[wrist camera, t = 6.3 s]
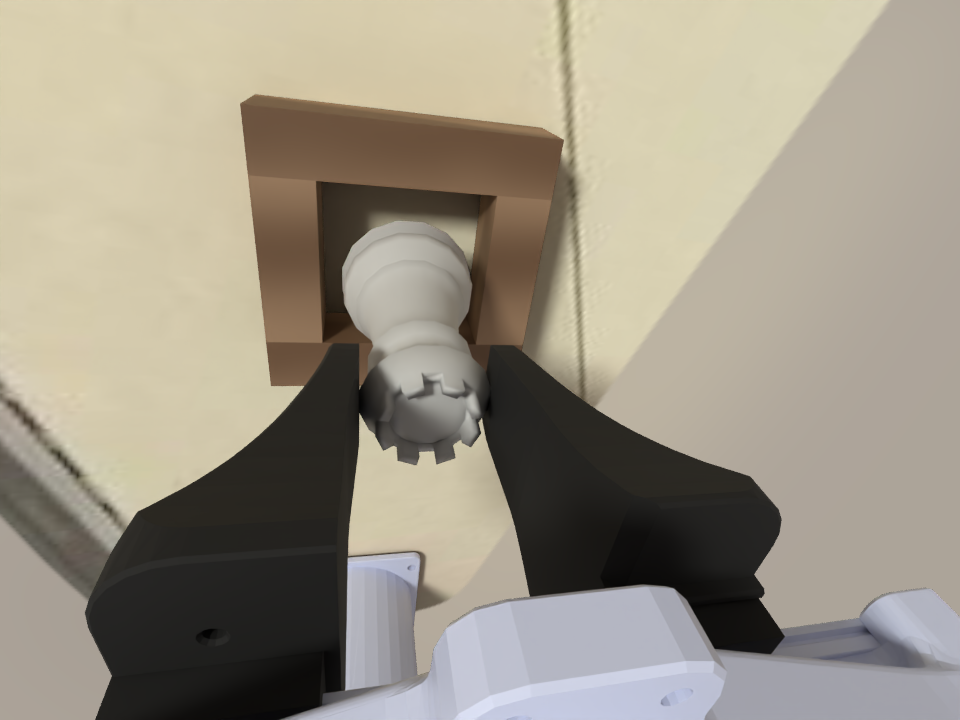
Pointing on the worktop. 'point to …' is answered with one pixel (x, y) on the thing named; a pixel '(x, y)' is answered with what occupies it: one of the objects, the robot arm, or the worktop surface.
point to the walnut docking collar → (402, 164)
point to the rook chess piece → (415, 340)
